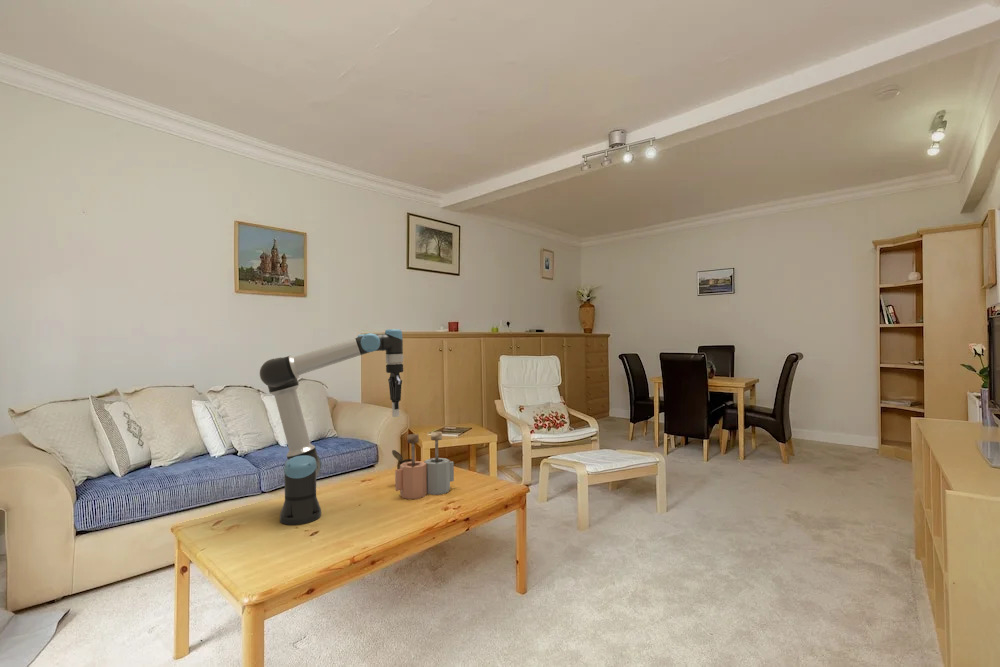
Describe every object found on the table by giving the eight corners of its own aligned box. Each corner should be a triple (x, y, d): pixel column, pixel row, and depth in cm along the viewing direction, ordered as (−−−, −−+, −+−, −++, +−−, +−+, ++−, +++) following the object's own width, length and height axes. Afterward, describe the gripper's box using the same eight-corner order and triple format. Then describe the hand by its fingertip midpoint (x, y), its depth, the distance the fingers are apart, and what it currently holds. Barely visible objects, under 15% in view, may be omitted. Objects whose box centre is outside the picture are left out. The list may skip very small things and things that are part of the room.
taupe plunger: (409, 473, 213) (409, 436, 213) (406, 470, 217) (405, 434, 218) (420, 471, 215) (420, 435, 216) (416, 468, 220) (416, 433, 220)
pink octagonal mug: (399, 501, 207) (399, 469, 208) (392, 495, 217) (391, 464, 217) (429, 496, 214) (429, 465, 214) (420, 490, 224) (420, 460, 224)
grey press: (430, 496, 214) (430, 465, 215) (421, 489, 224) (421, 460, 224) (458, 491, 221) (457, 460, 221) (448, 485, 231) (448, 456, 231)
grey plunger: (433, 469, 219) (433, 433, 219) (429, 466, 223) (429, 432, 223) (444, 467, 221) (443, 432, 222) (439, 465, 226) (439, 431, 226)
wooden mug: (387, 485, 231) (387, 448, 231) (408, 479, 242) (408, 443, 242) (399, 489, 226) (398, 451, 226) (420, 482, 236) (420, 446, 236)
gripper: (407, 363, 209) (408, 417, 209) (398, 362, 221) (399, 413, 220) (390, 364, 206) (391, 419, 205) (382, 363, 217) (383, 415, 217)
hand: (395, 416), depth 213 cm, fingers closed
